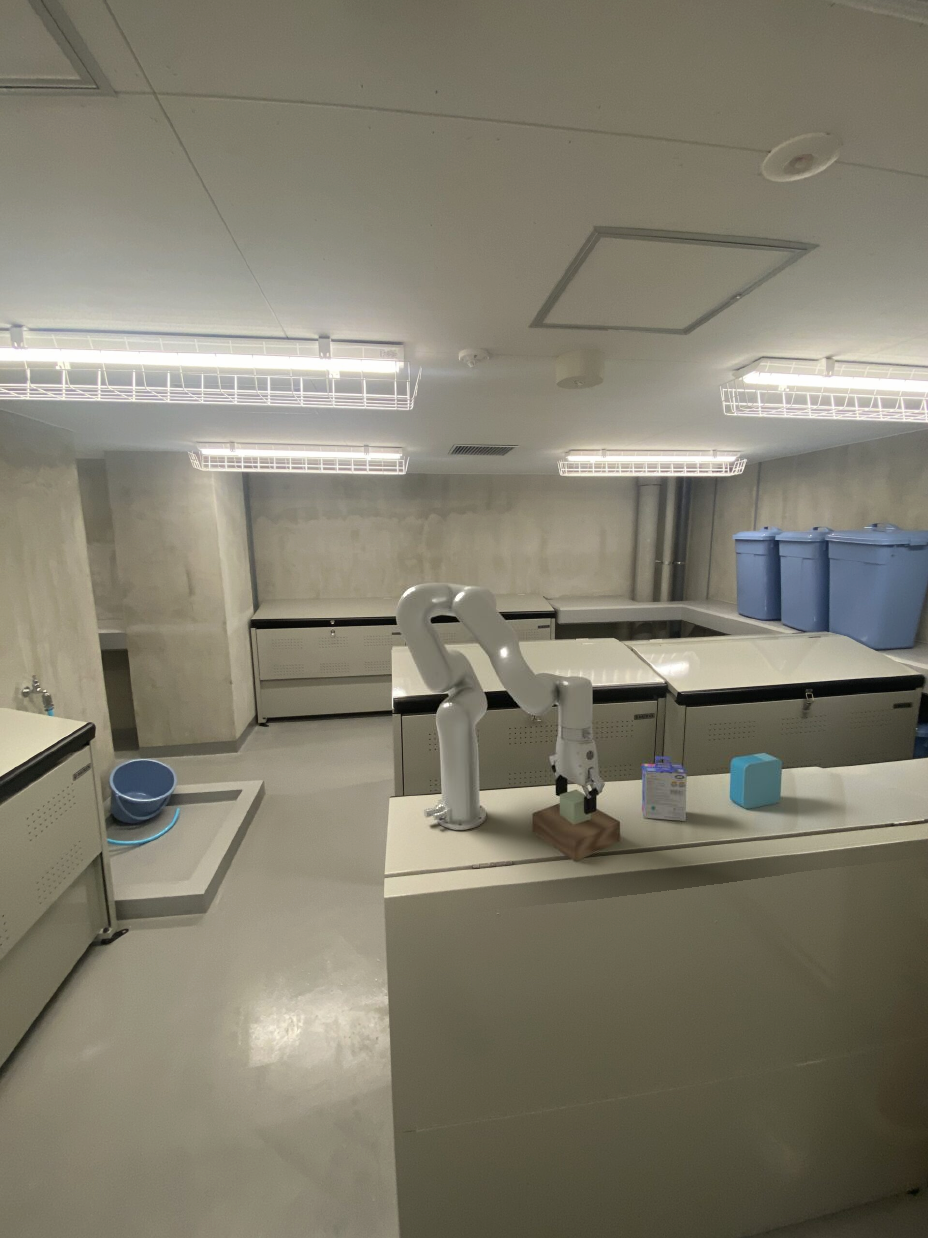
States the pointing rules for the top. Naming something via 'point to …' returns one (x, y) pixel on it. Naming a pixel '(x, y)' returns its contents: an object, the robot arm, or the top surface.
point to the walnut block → (576, 832)
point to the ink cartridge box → (664, 790)
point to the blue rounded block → (755, 780)
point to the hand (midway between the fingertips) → (575, 803)
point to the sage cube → (573, 807)
